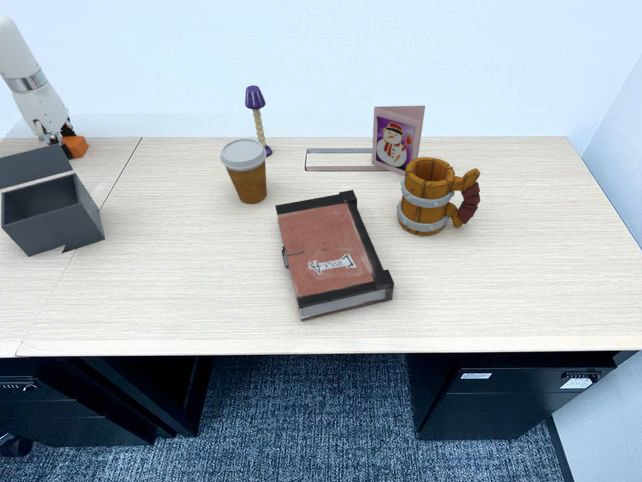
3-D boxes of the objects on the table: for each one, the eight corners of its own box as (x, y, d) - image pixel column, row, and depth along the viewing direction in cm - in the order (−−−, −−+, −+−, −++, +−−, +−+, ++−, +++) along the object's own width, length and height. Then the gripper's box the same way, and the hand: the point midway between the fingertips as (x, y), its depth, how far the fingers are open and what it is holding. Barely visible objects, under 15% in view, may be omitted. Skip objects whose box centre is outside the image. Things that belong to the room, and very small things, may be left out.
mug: (402, 198, 91) (409, 139, 79) (474, 215, 87) (493, 156, 76) (388, 229, 84) (394, 170, 73) (466, 248, 81) (485, 190, 69)
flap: (-20, 162, 73) (-19, 162, 73) (-2, 189, 76) (-1, 189, 76) (58, 143, 77) (58, 143, 77) (73, 170, 80) (73, 169, 80)
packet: (53, 158, 100) (46, 148, 97) (60, 147, 103) (54, 137, 101) (82, 157, 100) (76, 146, 98) (89, 146, 103) (83, 135, 101)
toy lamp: (254, 148, 103) (241, 84, 91) (272, 145, 104) (261, 82, 91) (256, 158, 100) (242, 94, 88) (274, 156, 101) (263, 91, 88)
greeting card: (369, 165, 99) (372, 108, 87) (384, 151, 103) (388, 94, 91) (411, 180, 95) (419, 123, 84) (424, 165, 99) (433, 108, 88)
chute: (33, 262, 78) (1, 227, 70) (31, 228, 84) (1, 192, 76) (105, 239, 82) (81, 203, 74) (98, 208, 88) (75, 172, 81)
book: (274, 222, 85) (271, 204, 82) (353, 207, 89) (353, 189, 85) (297, 322, 69) (294, 305, 65) (392, 299, 72) (394, 283, 69)
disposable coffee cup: (266, 178, 95) (257, 132, 86) (279, 201, 90) (271, 156, 81) (227, 188, 93) (213, 143, 83) (237, 213, 87) (224, 168, 78)
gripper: (24, 63, 93) (67, 134, 107) (-11, 99, 82) (42, 172, 96) (58, 62, 93) (96, 132, 107) (28, 97, 82) (75, 170, 96)
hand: (70, 150), depth 101 cm, fingers closed on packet, 5 cm apart
